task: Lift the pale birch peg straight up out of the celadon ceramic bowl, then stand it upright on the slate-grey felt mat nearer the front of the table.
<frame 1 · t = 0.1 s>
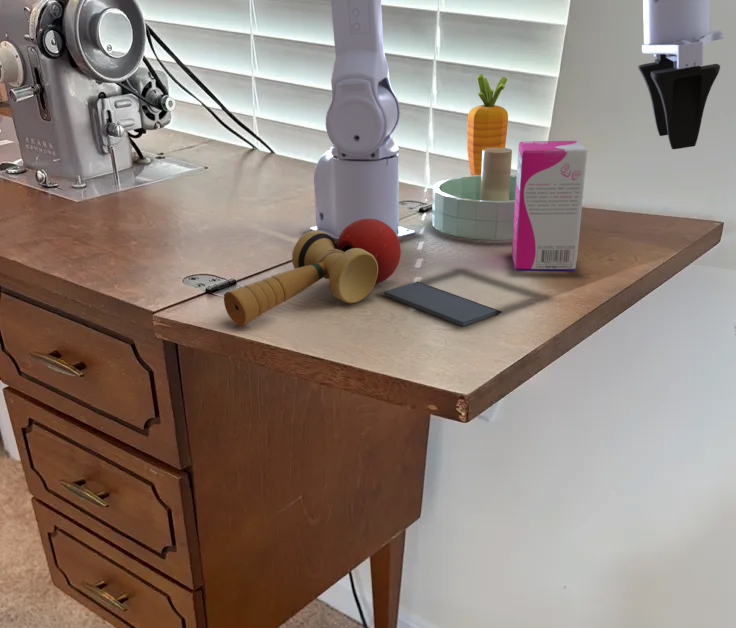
hand: (676, 140, 78), 11 cm above the table, tool pointing down, fingers open, 7 cm apart
birch peg: (493, 222, 90), resting on bowl
supplement box: (541, 267, 78), on the table
bowl: (492, 227, 90), on the table
felt mat: (462, 296, 70), on the table
carrot: (483, 201, 102), on the table
kendama: (319, 302, 70), on the table
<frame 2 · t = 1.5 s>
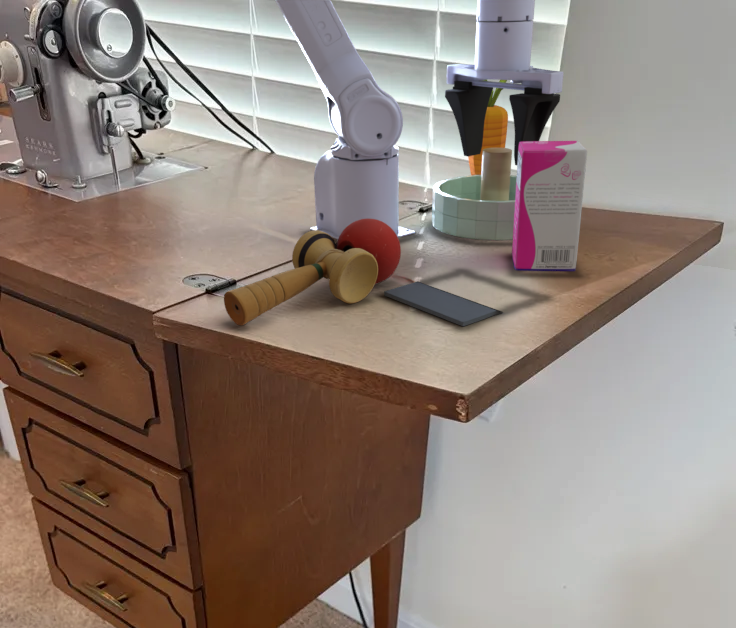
hand: (497, 159, 87), 7 cm above the table, tool pointing down, fingers open, 7 cm apart
nothing on the table moved.
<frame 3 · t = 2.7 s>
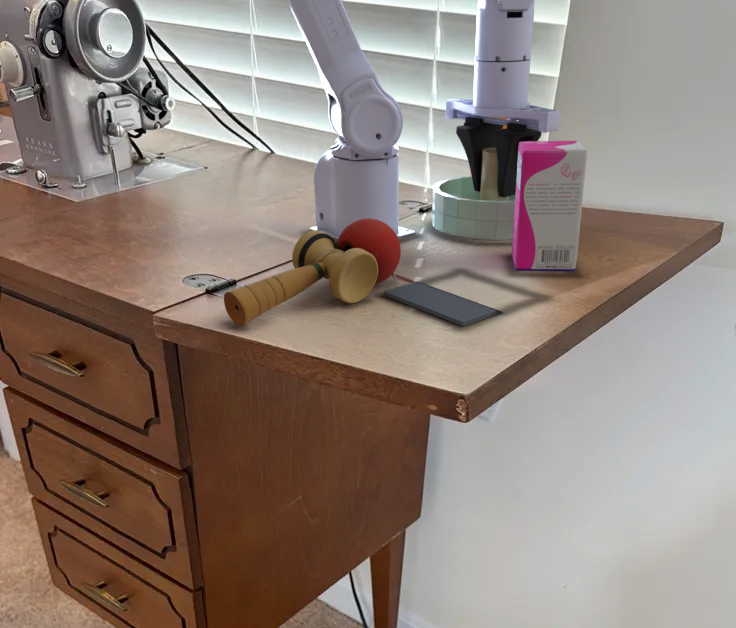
hand: (494, 192, 88), 4 cm above the table, tool pointing down, fingers closed on birch peg, 3 cm apart
birch peg: (492, 222, 90), resting on bowl, touching gripper
everything else where it was.
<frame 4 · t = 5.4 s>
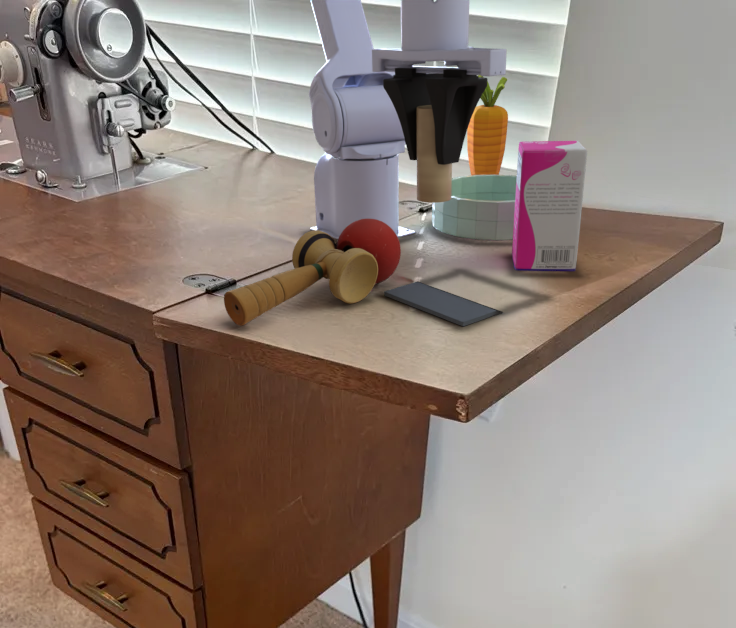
hand: (434, 161, 71), 10 cm above the table, tool pointing down, fingers closed on birch peg, 3 cm apart
birch peg: (434, 199, 73), point 7 cm above the table, touching gripper
everything else where it was.
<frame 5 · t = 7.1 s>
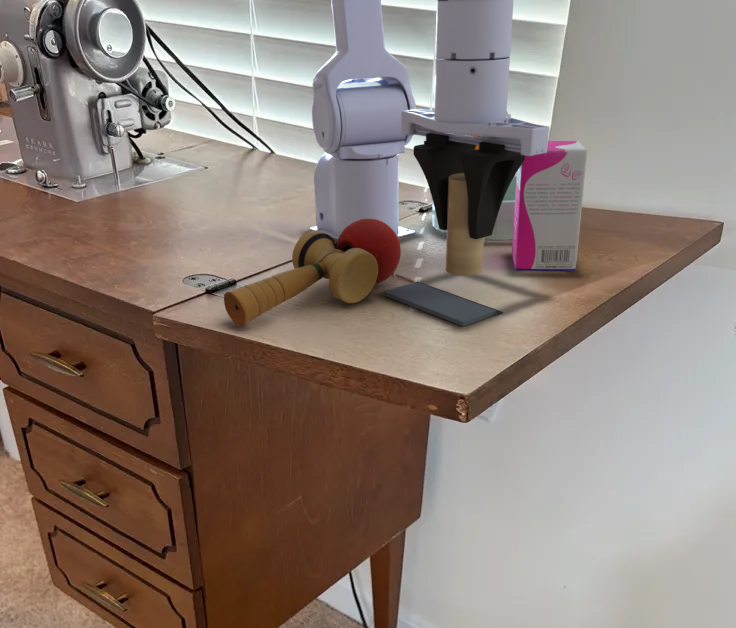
hand: (465, 232, 67), 6 cm above the table, tool pointing down, fingers closed on birch peg, 3 cm apart
birch peg: (464, 270, 69), point 2 cm above the table, touching gripper
everything else where it was.
when the fingers open (4 cm above the table, at t = 8.1 s): birch peg stays where it is, resting on felt mat.
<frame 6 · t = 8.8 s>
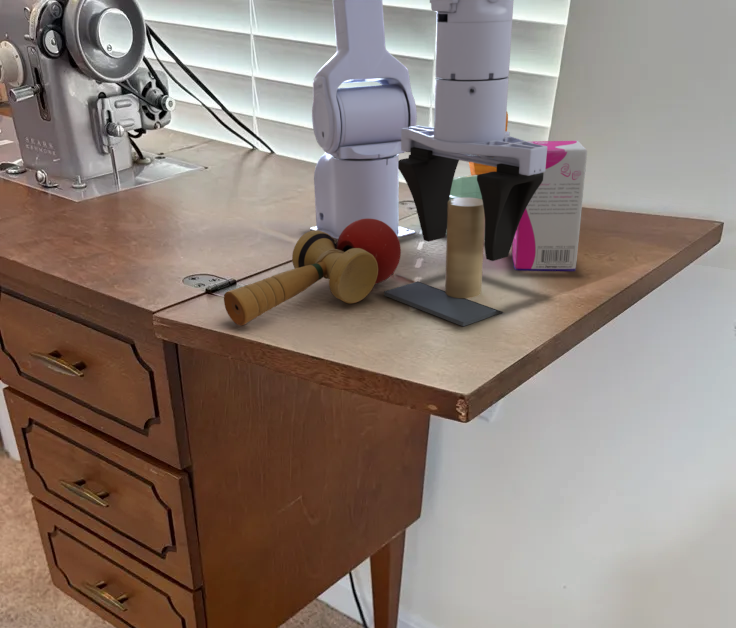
hand: (464, 248, 68), 4 cm above the table, tool pointing down, fingers open, 7 cm apart
birch peg: (463, 292, 70), resting on felt mat
everything else where it was.
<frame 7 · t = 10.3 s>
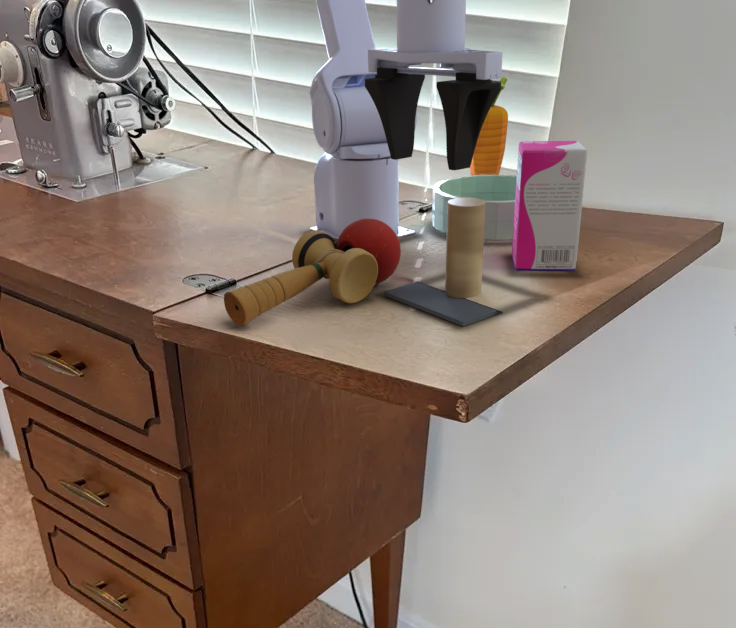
hand: (429, 163, 71), 10 cm above the table, tool pointing down, fingers open, 7 cm apart
nothing on the table moved.
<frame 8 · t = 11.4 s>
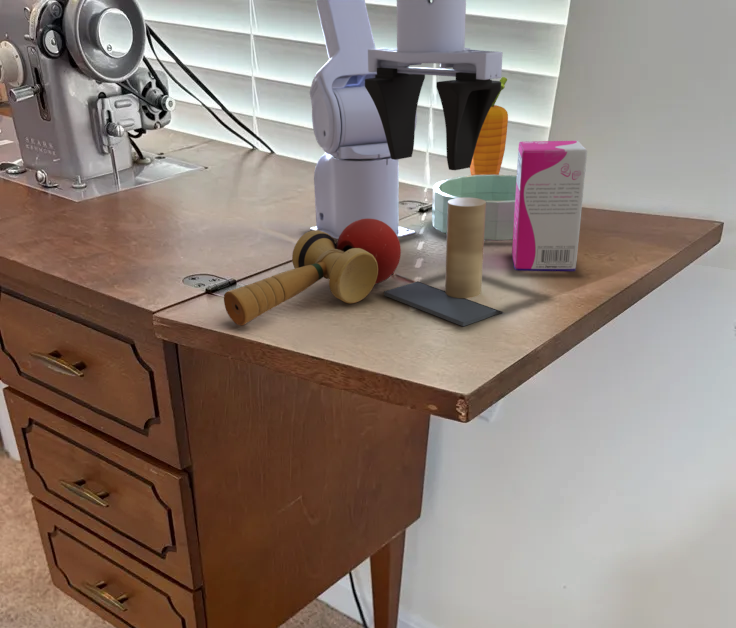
hand: (429, 163, 71), 10 cm above the table, tool pointing down, fingers open, 7 cm apart
nothing on the table moved.
at the end: birch peg inside the target area on the felt mat (0.0 cm from its centre), point 0.4 cm above the felt mat's base; birch peg tilted 0°; birch peg touching felt mat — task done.
